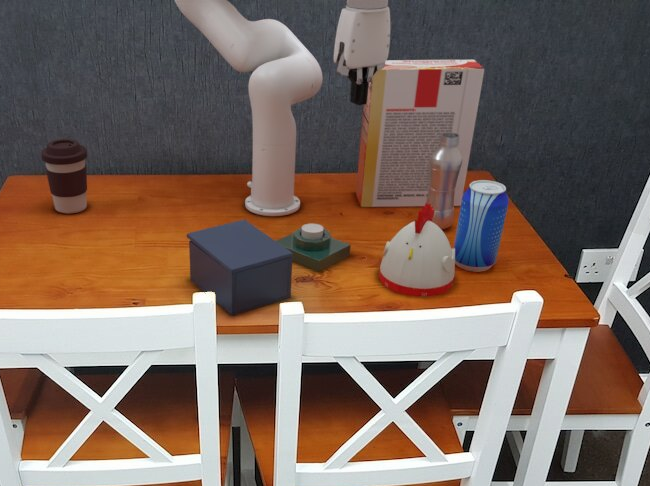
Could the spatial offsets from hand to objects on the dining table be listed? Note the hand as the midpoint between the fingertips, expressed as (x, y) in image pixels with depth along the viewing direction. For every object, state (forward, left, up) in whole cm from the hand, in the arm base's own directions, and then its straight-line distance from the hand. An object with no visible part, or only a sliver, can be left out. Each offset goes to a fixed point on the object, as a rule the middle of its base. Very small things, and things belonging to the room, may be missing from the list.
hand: (358, 103), depth 153 cm
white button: (+5, -13, -23) cm, 27 cm away
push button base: (+5, -13, -27) cm, 30 cm away
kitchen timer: (+24, -2, -27) cm, 36 cm away
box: (+10, -33, -27) cm, 44 cm away
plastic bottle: (+8, +18, -27) cm, 34 cm away
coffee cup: (-43, -46, -27) cm, 69 cm away
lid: (+10, -33, -19) cm, 39 cm away
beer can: (+25, +12, -27) cm, 39 cm away
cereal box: (-7, +23, -27) cm, 36 cm away
